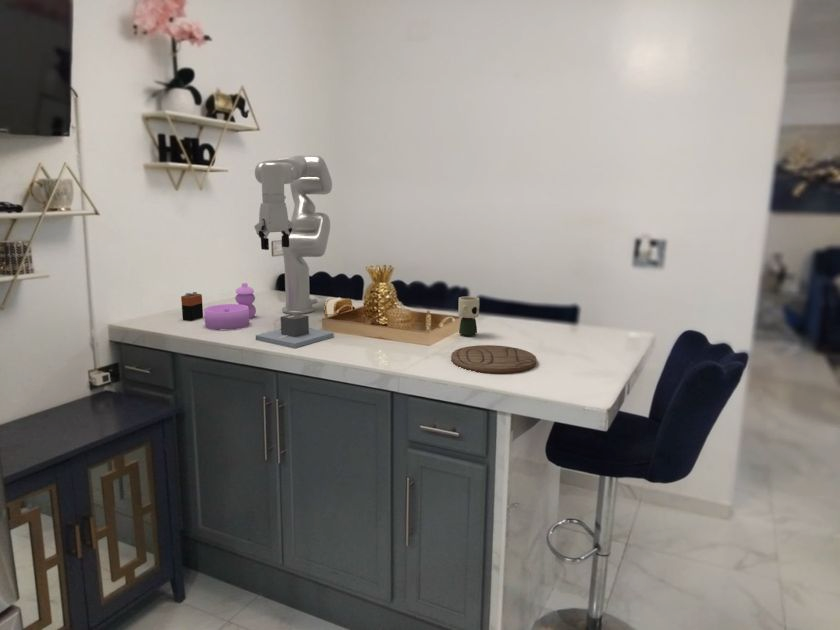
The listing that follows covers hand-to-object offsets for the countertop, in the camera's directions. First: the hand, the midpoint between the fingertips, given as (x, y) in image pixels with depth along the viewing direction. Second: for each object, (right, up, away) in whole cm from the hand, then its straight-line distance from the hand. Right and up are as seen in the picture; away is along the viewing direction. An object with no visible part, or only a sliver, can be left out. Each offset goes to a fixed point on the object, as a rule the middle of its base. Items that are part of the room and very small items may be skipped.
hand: (275, 248), depth 215 cm
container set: (-18, -27, +10) cm, 33 cm away
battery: (-35, -25, +14) cm, 45 cm away
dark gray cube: (+10, -30, -13) cm, 34 cm away
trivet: (+73, -38, -35) cm, 89 cm away
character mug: (+68, -31, -5) cm, 75 cm away
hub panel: (+10, -31, -12) cm, 35 cm away
